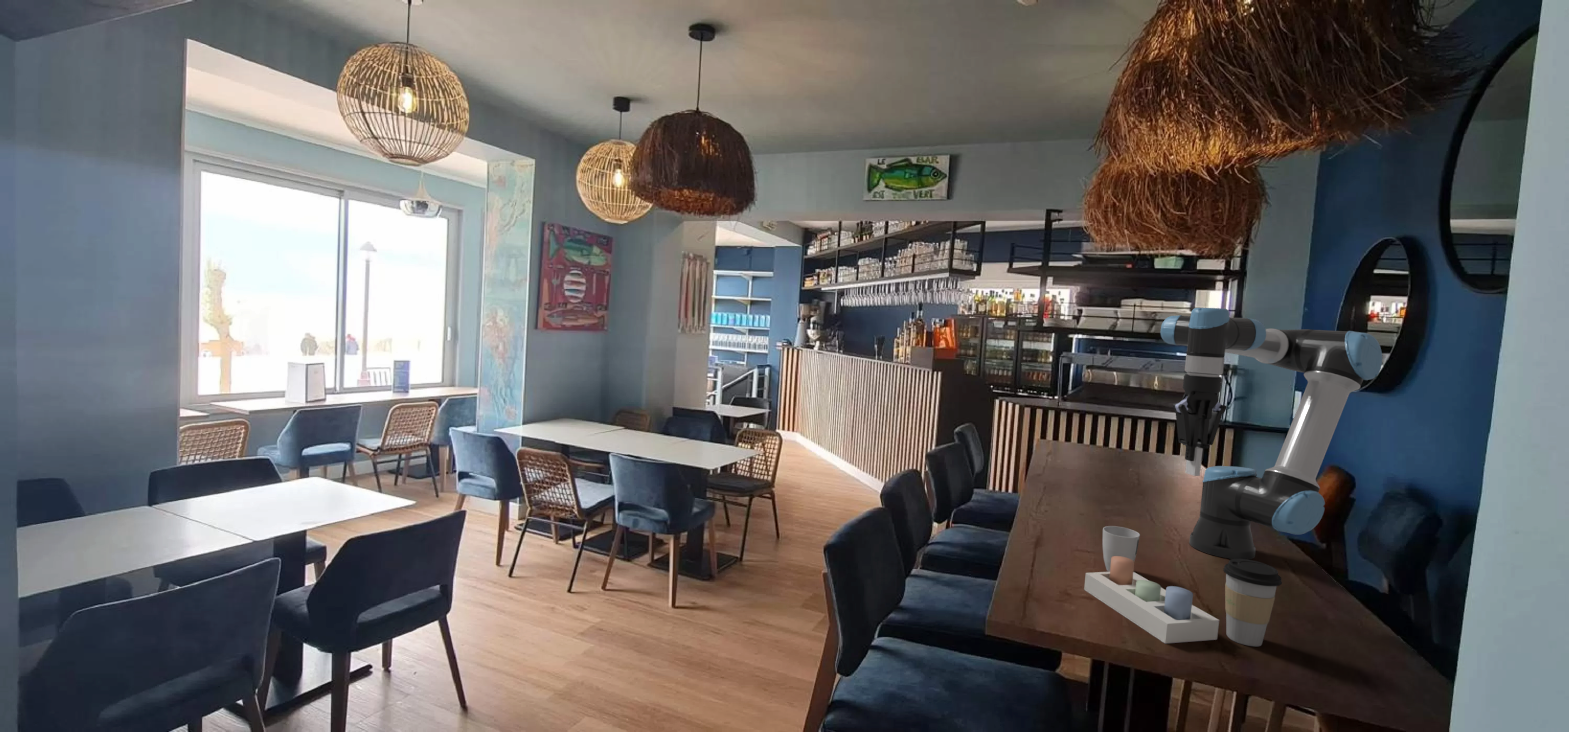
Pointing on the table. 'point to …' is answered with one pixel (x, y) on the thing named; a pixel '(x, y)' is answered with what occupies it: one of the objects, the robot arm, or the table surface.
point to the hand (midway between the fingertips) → (1192, 474)
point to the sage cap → (1148, 590)
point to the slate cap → (1178, 603)
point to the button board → (1151, 611)
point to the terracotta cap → (1121, 570)
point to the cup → (1119, 543)
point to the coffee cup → (1249, 599)
